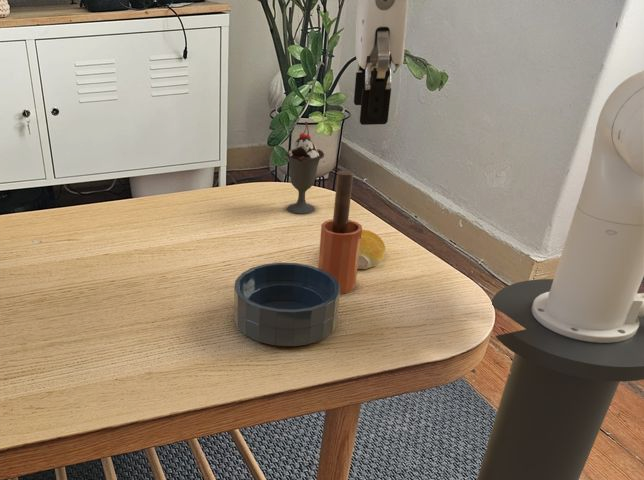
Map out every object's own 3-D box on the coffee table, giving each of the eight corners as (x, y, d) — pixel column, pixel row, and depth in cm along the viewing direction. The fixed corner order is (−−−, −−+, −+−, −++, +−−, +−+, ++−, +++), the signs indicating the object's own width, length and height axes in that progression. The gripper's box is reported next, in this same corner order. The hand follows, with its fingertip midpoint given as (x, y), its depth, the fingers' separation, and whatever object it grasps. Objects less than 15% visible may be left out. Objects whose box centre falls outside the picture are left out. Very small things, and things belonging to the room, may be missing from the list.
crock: (353, 276, 95) (360, 219, 90) (356, 294, 90) (363, 235, 85) (316, 275, 96) (320, 218, 91) (316, 293, 91) (321, 234, 86)
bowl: (333, 299, 89) (337, 264, 86) (338, 352, 79) (342, 314, 76) (238, 296, 91) (238, 261, 88) (230, 347, 81) (230, 309, 78)
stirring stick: (341, 278, 93) (352, 170, 85) (341, 285, 92) (353, 175, 83) (326, 278, 94) (337, 169, 85) (327, 284, 92) (337, 175, 83)
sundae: (305, 199, 121) (311, 117, 113) (326, 211, 116) (334, 126, 108) (275, 206, 119) (278, 123, 111) (295, 218, 114) (300, 132, 105)
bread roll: (386, 248, 102) (389, 225, 100) (379, 273, 95) (382, 248, 93) (333, 242, 105) (336, 219, 103) (323, 266, 98) (325, 241, 96)
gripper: (433, -43, 64) (410, 131, 74) (408, -51, 79) (392, 97, 88) (356, -38, 66) (343, 133, 75) (345, -46, 80) (335, 98, 89)
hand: (369, 113), depth 82 cm, fingers open, 9 cm apart
